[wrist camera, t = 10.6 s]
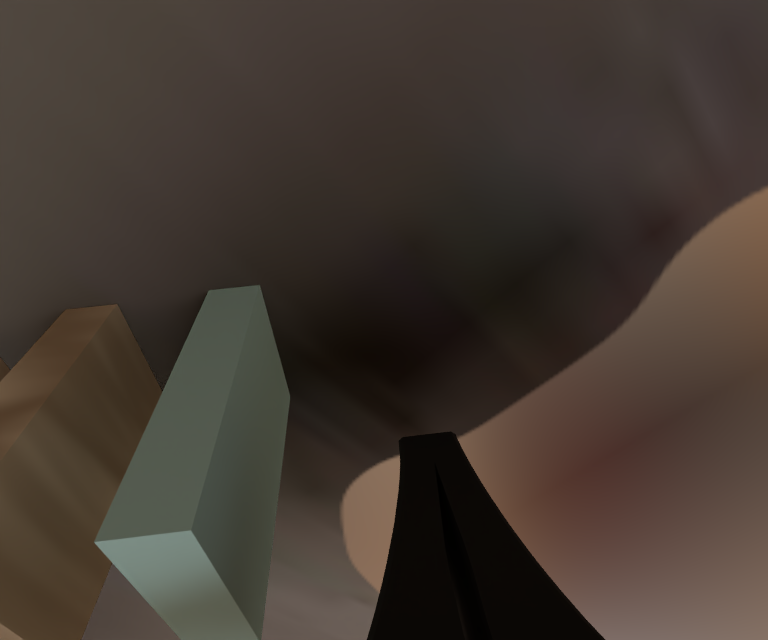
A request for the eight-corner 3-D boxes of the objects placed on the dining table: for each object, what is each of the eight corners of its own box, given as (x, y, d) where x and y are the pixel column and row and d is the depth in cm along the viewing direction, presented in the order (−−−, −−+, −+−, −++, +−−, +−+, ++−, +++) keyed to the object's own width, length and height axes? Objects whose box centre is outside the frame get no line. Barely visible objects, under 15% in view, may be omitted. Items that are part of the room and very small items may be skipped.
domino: (117, 304, 14) (-80, 568, 7) (172, 412, 17) (68, 670, 10) (65, 309, 14) (-179, 580, 7) (130, 417, 17) (-2, 679, 10)
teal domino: (259, 284, 14) (190, 530, 7) (290, 396, 17) (260, 642, 10) (208, 290, 14) (93, 542, 7) (248, 401, 17) (191, 651, 10)
